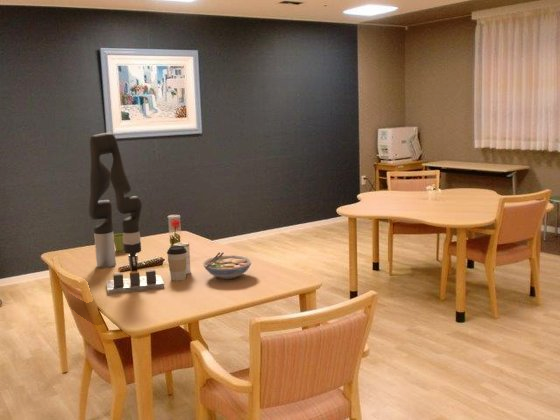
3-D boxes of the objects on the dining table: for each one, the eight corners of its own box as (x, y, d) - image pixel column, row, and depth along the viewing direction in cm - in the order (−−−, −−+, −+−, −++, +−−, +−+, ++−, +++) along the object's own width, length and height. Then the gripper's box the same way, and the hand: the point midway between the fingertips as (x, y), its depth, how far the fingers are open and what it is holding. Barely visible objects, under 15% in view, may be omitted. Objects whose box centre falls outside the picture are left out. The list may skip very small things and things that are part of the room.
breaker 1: (113, 285, 259) (113, 274, 258) (123, 284, 260) (122, 273, 259) (114, 286, 256) (113, 275, 256) (123, 285, 258) (122, 274, 257)
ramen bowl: (245, 286, 260) (244, 268, 258) (195, 284, 264) (194, 266, 263) (258, 270, 284) (257, 253, 282) (212, 268, 288) (212, 252, 287)
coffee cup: (169, 282, 269) (167, 250, 266) (167, 276, 277) (165, 245, 274) (189, 279, 271) (187, 248, 268) (187, 274, 280) (185, 243, 277)
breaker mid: (130, 283, 261) (129, 271, 260) (139, 282, 262) (138, 270, 261) (130, 284, 258) (129, 272, 257) (140, 283, 260) (139, 271, 259)
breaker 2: (146, 281, 263) (145, 270, 262) (155, 280, 264) (154, 269, 263) (147, 282, 261) (146, 272, 260) (156, 281, 262) (155, 271, 261)
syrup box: (174, 274, 280) (172, 244, 278) (181, 270, 286) (179, 241, 283) (183, 275, 278) (182, 245, 275) (191, 272, 283) (189, 242, 280)
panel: (106, 285, 267) (106, 280, 266) (160, 278, 274) (160, 274, 273) (107, 294, 253) (107, 290, 253) (164, 287, 261) (163, 283, 260)
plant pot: (112, 249, 331) (111, 234, 329) (129, 247, 333) (128, 232, 332) (113, 253, 322) (111, 237, 320) (131, 251, 325) (129, 236, 323)
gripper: (122, 238, 265) (125, 275, 269) (124, 246, 253) (126, 284, 257) (139, 237, 268) (141, 274, 271) (141, 244, 255) (144, 282, 259)
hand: (134, 279), depth 264 cm, fingers closed
